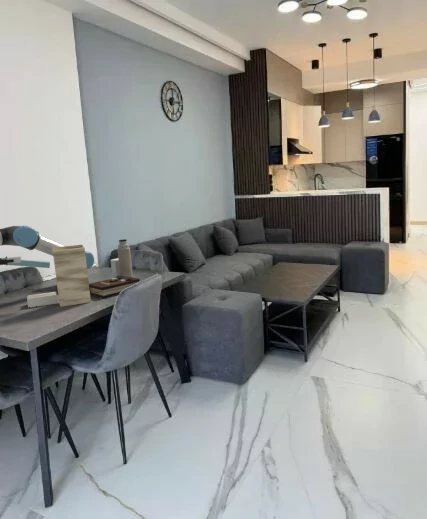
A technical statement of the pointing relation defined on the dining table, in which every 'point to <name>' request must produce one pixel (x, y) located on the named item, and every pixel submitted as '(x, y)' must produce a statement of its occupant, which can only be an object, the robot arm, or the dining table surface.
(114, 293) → the decorative book
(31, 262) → the bar
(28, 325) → the dining table surface
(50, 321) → the dining table surface
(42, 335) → the dining table surface
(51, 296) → the dock
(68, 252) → the pedestal
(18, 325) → the dining table surface
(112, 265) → the skincare box
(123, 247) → the thermos bottle
